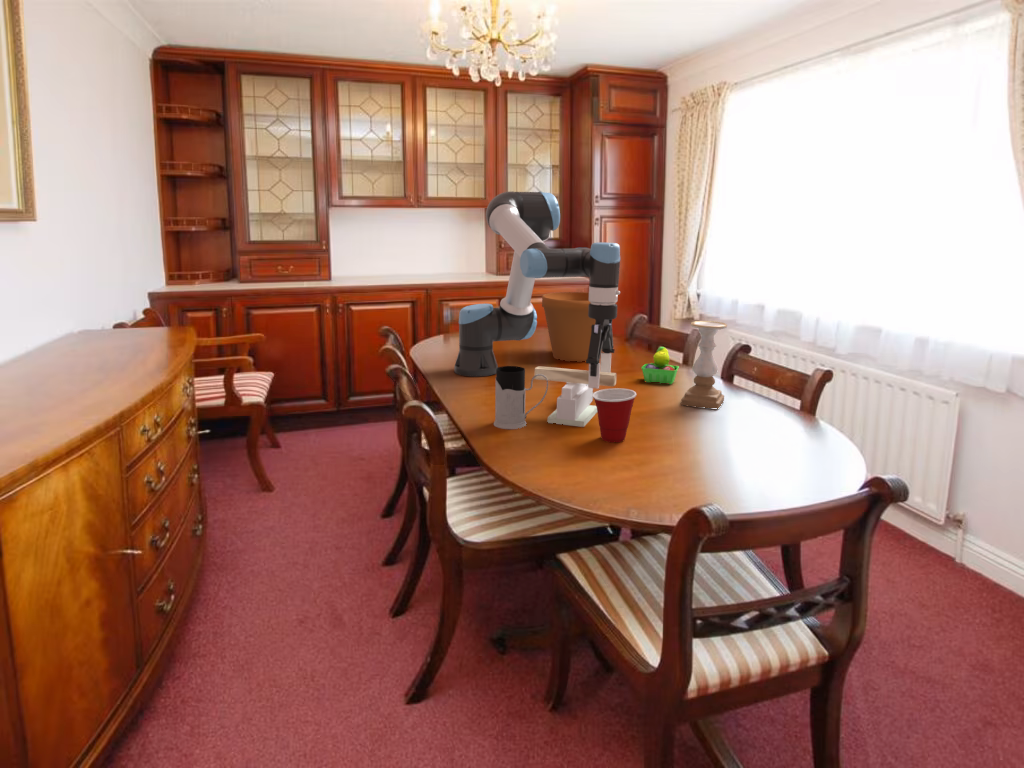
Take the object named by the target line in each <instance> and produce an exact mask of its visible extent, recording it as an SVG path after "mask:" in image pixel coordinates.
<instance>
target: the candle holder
mask: <svg viewBox="0 0 1024 768" xmlns="http://www.w3.org/2000/svg"><path fill="white" fill-rule="evenodd" d="M690 327H691V328H695V329H697V330H698V332H699V334H700V338H701V339H700V342H698V344H697V346H698V347H699V351H700V354H699V356H698V357H697V359H696V360H695V361H694V363H693V365H692V368H691V369H692V372H693V373H694V374H695V375H696V376H695V377H694V378H693V383H694V384H695V385H693V386H691V387H689V388H688V389H687V390H686V392H685V393H684V395H683V396H682V398H681V400H680V406H682V405H688V406H687V407H690V406H696V407H695V408H698V407H705V408H704V409H706V408H717V409H718V408H719V407H720V406H721V407H722V405H723V404H724V402H725V395H724V394H722V393H723V392H722V390H721V389H720V390H719V389H717V388H715V386H714V385H715V383H716V379H715V378H714V376H715V375H717V374H718V372H719V366H718V363H717V361H716V360H715V357H714V355H713V352H714V350H715V348H716V347H717V344H716V342H715V336H716V335H717V333H718V332H719V331H720V330H725V329H727V327H728V324H727V323H724V322H720V321H713V320H696V321H695V320H694V321H691V323H690ZM723 401H724V402H723ZM722 403H723V404H722ZM721 404H722V405H721ZM721 407H720V408H721Z"/></svg>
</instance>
